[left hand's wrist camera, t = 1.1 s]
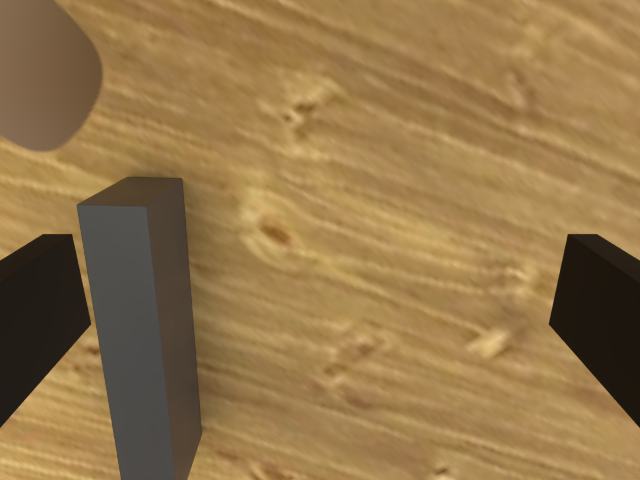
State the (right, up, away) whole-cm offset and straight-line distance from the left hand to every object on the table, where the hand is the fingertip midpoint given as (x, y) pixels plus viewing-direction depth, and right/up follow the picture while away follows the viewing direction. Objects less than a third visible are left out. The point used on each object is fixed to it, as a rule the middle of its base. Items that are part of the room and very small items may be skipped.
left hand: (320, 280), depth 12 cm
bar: (-14, -6, +30) cm, 34 cm away
